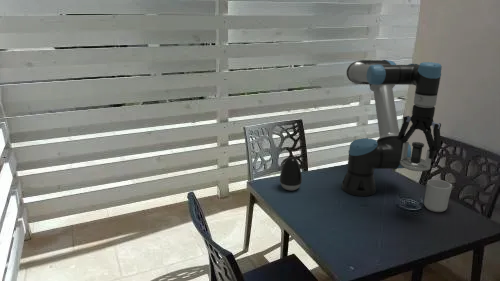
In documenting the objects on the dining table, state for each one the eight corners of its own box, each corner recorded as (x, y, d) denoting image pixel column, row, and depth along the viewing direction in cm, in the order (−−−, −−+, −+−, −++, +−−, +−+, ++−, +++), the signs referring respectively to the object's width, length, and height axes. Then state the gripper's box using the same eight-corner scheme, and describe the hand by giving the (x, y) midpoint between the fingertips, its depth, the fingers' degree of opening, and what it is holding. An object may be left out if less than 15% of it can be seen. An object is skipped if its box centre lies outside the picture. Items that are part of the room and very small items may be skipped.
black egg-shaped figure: (305, 186, 177) (307, 156, 173) (295, 195, 169) (297, 163, 164) (285, 181, 183) (287, 151, 178) (275, 189, 174) (276, 158, 169)
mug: (436, 215, 153) (441, 190, 150) (418, 205, 161) (422, 181, 157) (456, 208, 158) (461, 184, 155) (438, 199, 166) (442, 176, 162)
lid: (393, 164, 149) (396, 142, 146) (409, 158, 155) (413, 137, 152) (420, 173, 141) (423, 150, 138) (435, 166, 147) (439, 145, 144)
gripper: (392, 101, 146) (385, 155, 154) (448, 113, 130) (437, 173, 137) (403, 98, 151) (396, 151, 158) (459, 109, 134) (448, 168, 141)
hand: (415, 161), depth 147 cm, fingers closed on lid, 9 cm apart
